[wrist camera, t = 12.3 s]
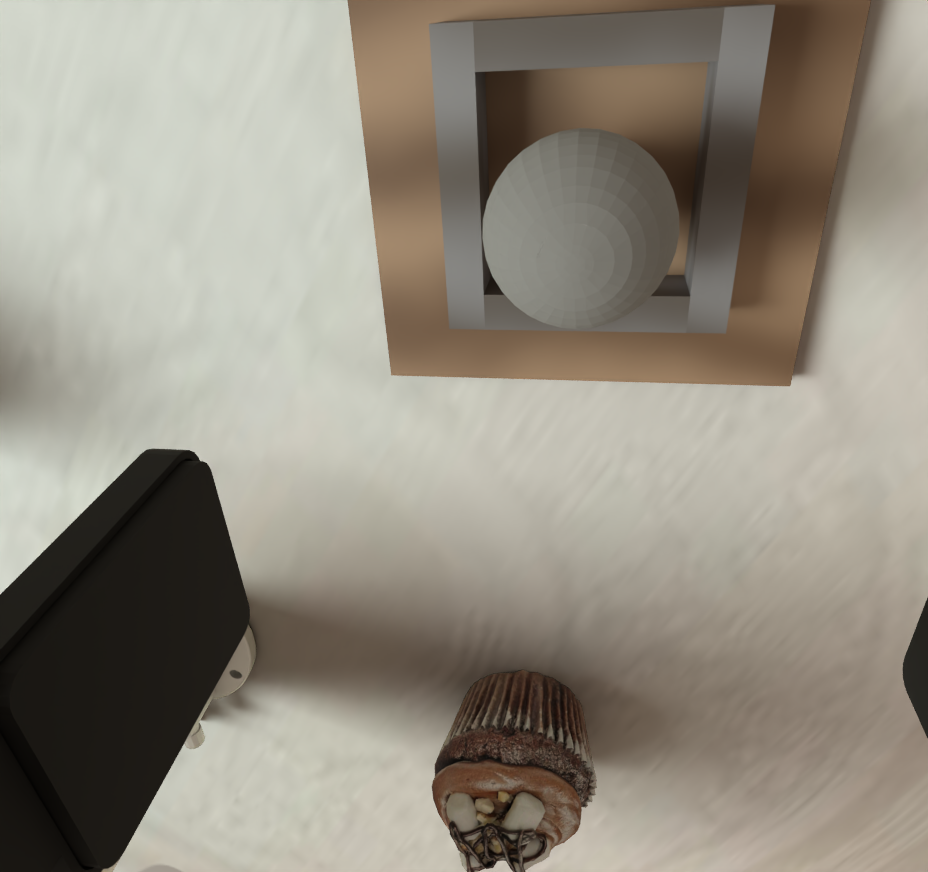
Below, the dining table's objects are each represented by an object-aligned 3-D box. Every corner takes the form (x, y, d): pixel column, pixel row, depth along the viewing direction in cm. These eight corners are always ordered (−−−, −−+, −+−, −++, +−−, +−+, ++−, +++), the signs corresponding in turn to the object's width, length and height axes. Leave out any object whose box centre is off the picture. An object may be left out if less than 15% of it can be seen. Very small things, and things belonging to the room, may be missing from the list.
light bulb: (528, 266, 30) (497, 376, 22) (493, 119, 27) (442, 182, 19) (674, 235, 29) (699, 342, 20) (653, 74, 26) (671, 123, 17)
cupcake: (484, 762, 51) (461, 915, 42) (428, 671, 47) (390, 820, 38) (616, 747, 48) (619, 909, 39) (568, 648, 43) (560, 805, 35)
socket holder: (785, 375, 32) (803, 414, 29) (396, 365, 35) (377, 400, 32) (888, -132, 23) (931, -151, 20) (345, -87, 26) (312, -97, 23)
